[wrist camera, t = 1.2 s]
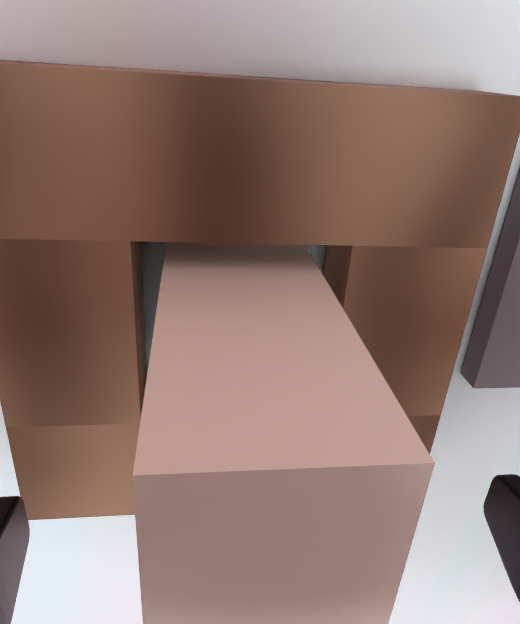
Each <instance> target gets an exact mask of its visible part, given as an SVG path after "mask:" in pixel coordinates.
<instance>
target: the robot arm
mask: <svg viewBox="0 0 520 624" xmlns="http://www.w3.org/2000/svg"><path fill="white" fill-rule="evenodd" d="M484 515H485V518H486V521H487V523H488V526H489V528H490V531H491V533H492V536H493V538H494V541H495V544H496V546H497V549H498V551H499V554H500V556H501V559H502V561H503V564H504V567H505V569H506V572H507V574H508V577H509V579H510V582H511V584H512V586H513V589H514V591H515V593H516V595H517V598H518V600H519V602H520V477H519V476H517V475H513V474H510V475H497V476H495V477H494V478H493V480H492V483H491V485H490V488H489V491H488V494H487V496H486V499H485V502H484ZM29 533H30V531H29V524H28V519H27V514H26V510H25V505H24V501H23V499H22V498H21V497H19V496H11V497H0V624H11V620H12V615H13V611H14V606H15V602H16V597H17V593H18V588H19V583H20V579H21V574H22V570H23V565H24V561H25V556H26V552H27V547H28V542H29Z"/></svg>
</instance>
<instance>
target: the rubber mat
mask: <svg viewBox="0 0 520 624" xmlns="http://www.w3.org/2000/svg"><path fill="white" fill-rule="evenodd" d="M461 374H462V375H463V376H464V378H465V379H466V380H467V381H468V382H469V384H470V385H471V386H472V387H473V388H509V387H520V170H519V174H518V177H517V180H516V184H515V187H514V191H513V194H512V198H511V201H510V205H509V208H508V212H507V215H506V219H505V222H504V225H503V229H502V232H501V236H500V239H499V243H498V246H497V250H496V253H495V257H494V260H493V263H492V267H491V270H490V274H489V277H488V281H487V284H486V288H485V291H484V295H483V298H482V301H481V305H480V308H479V312H478V315H477V319H476V322H475V326H474V329H473V333H472V336H471V339H470V343H469V346H468V350H467V353H466V357H465V360H464V364H463V367H462V371H461Z"/></svg>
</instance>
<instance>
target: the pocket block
mask: <svg viewBox="0 0 520 624" xmlns="http://www.w3.org/2000/svg"><path fill="white" fill-rule="evenodd" d="M519 134H520V96H515V95H507V94H498V93H490V92H482V91H469V90H453V89H438V88H423V87H407V86H392V85H376V84H361V83H345V82H330V81H315V80H299V79H284V78H268V77H253V76H237V75H222V74H207V73H191V72H176V71H160V70H145V69H129V68H114V67H99V66H83V65H68V64H52V63H37V62H21V61H6V60H0V401H1V406H2V411H3V415H4V420H5V425H6V430H7V434H8V439H9V444H10V449H11V453H12V458H13V463H14V467H15V472H16V477H17V482H18V486H19V491H20V496H21V498H22V499H23V501H24V505H25V510H26V514H27V519H28V520H38V519H57V518H76V517H96V516H115V515H135V503H134V489H133V469H134V462H135V455H136V448H137V441H138V434H139V428H140V421H141V414H142V407H143V400H144V393H145V386H146V379H147V363H146V342H145V322H144V301H143V280H142V259H141V242H192V243H242V244H293V245H327V253H326V260H325V268H324V278H325V279H326V281H327V283H328V284H329V286H330V288H331V289H332V291H333V293H334V294H335V296H336V298H337V300H338V301H339V303H340V305H341V306H342V308H343V310H344V311H345V313H346V315H347V316H348V318H349V320H350V321H351V323H352V325H353V326H354V328H355V330H356V331H357V333H358V335H359V336H360V338H361V340H362V342H363V343H364V345H365V347H366V348H367V350H368V352H369V353H370V355H371V357H372V358H373V360H374V362H375V363H376V365H377V367H378V368H379V370H380V372H381V373H382V375H383V377H384V379H385V380H386V382H387V384H388V385H389V387H390V389H391V390H392V392H393V394H394V395H395V397H396V399H397V400H398V402H399V404H400V405H401V407H402V409H403V410H404V412H405V414H406V416H407V417H408V419H409V421H410V422H411V424H412V426H413V427H414V429H415V431H416V432H417V434H418V436H419V437H420V439H421V441H422V442H423V444H424V446H425V447H426V449H427V451H428V452H429V454H430V451H431V447H432V444H433V440H434V437H435V433H436V430H437V426H438V422H439V419H440V415H441V412H442V408H443V405H444V401H445V398H446V394H447V390H448V387H449V383H450V380H451V376H452V373H453V369H454V365H455V362H456V358H457V355H458V351H459V348H460V344H461V340H462V337H463V333H464V330H465V326H466V323H467V319H468V315H469V312H470V308H471V305H472V301H473V298H474V294H475V291H476V287H477V283H478V280H479V276H480V273H481V269H482V266H483V262H484V258H485V255H486V251H487V248H488V244H489V241H490V237H491V233H492V230H493V226H494V223H495V219H496V216H497V212H498V208H499V205H500V201H501V198H502V194H503V191H504V187H505V184H506V180H507V176H508V173H509V169H510V166H511V162H512V159H513V155H514V151H515V148H516V144H517V141H518V137H519Z"/></svg>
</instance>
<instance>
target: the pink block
mask: <svg viewBox="0 0 520 624" xmlns="http://www.w3.org/2000/svg"><path fill="white" fill-rule="evenodd" d="M434 464H435V463H434V461H433V459H432V458H431V456H430V454H429V452H428V451H427V449H426V447H425V446H424V444H423V442H422V441H421V439H420V437H419V436H418V434H417V432H416V431H415V429H414V427H413V426H412V424H411V422H410V421H409V419H408V417H407V416H406V414H405V412H404V410H403V409H402V407H401V405H400V404H399V402H398V400H397V399H396V397H395V395H394V394H393V392H392V390H391V389H390V387H389V385H388V384H387V382H386V380H385V379H384V377H383V375H382V373H381V372H380V370H379V368H378V367H377V365H376V363H375V362H374V360H373V358H372V357H371V355H370V353H369V352H368V350H367V348H366V347H365V345H364V343H363V342H362V340H361V338H360V336H359V335H358V333H357V331H356V330H355V328H354V326H353V325H352V323H351V321H350V320H349V318H348V316H347V315H346V313H345V311H344V310H343V308H342V306H341V305H340V303H339V301H338V300H337V298H336V296H335V294H334V293H333V291H332V289H331V288H330V286H329V284H328V283H327V281H326V279H325V278H324V276H323V274H322V273H321V271H320V269H319V268H318V266H317V264H316V263H315V261H314V259H313V257H312V256H311V254H310V252H309V251H308V249H307V247H306V246H305V245H293V244H242V243H192V242H166V248H165V255H164V262H163V269H162V275H161V282H160V289H159V296H158V303H157V310H156V317H155V324H154V331H153V338H152V345H151V352H150V358H149V365H148V372H147V379H146V386H145V393H144V400H143V407H142V414H141V421H140V428H139V434H138V441H137V448H136V455H135V462H134V469H133V489H134V503H135V517H136V531H137V545H138V559H139V573H140V587H141V601H142V615H143V624H388V623H389V619H390V616H391V612H392V609H393V605H394V602H395V599H396V595H397V592H398V588H399V585H400V581H401V578H402V574H403V571H404V567H405V564H406V560H407V557H408V554H409V550H410V547H411V543H412V540H413V536H414V533H415V529H416V526H417V522H418V519H419V515H420V512H421V509H422V505H423V502H424V498H425V495H426V491H427V488H428V484H429V481H430V477H431V474H432V471H433V467H434Z"/></svg>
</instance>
